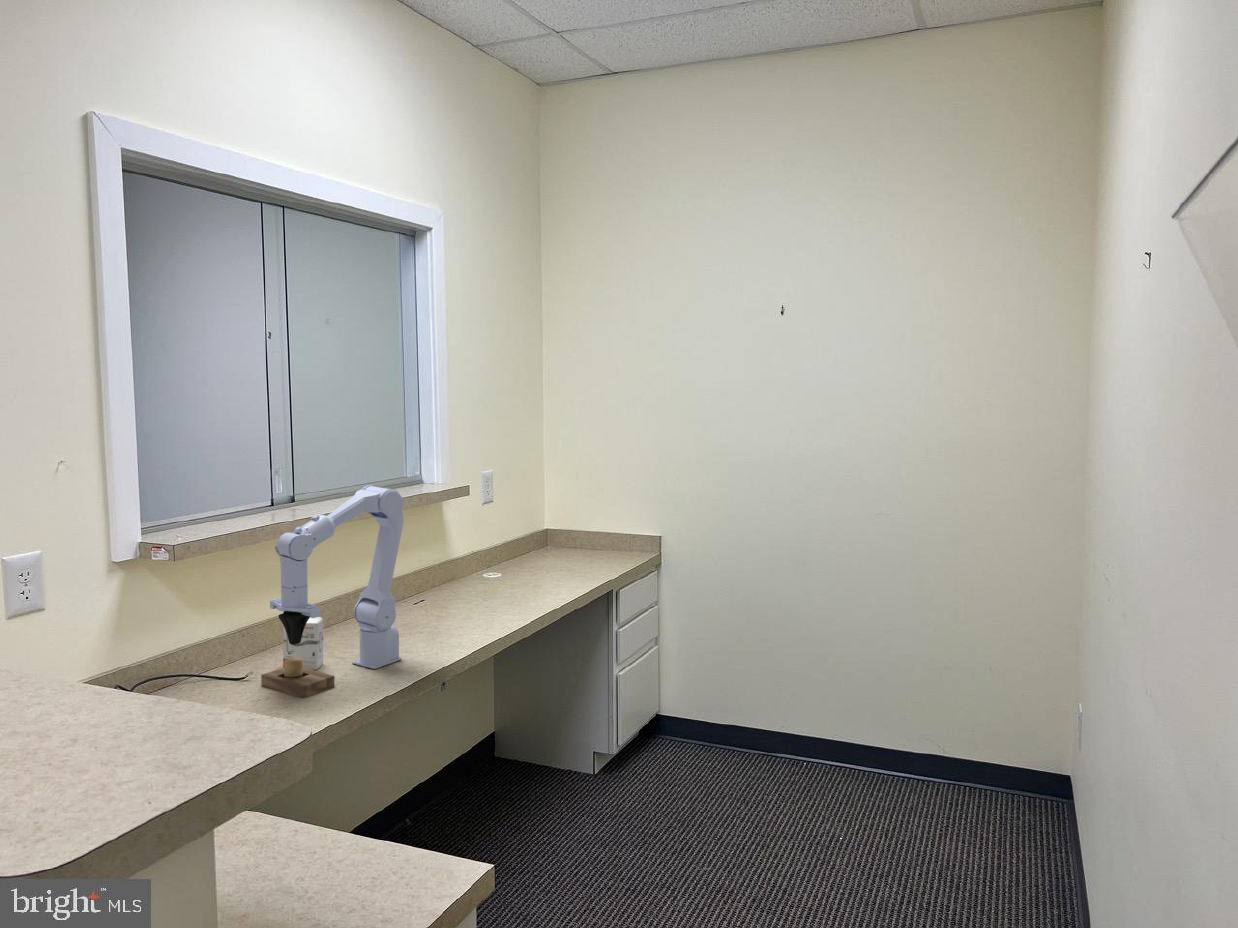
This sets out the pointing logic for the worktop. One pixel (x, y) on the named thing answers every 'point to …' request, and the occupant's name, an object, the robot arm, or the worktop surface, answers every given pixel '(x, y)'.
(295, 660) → the peg
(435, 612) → the worktop surface
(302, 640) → the ink box
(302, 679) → the board
